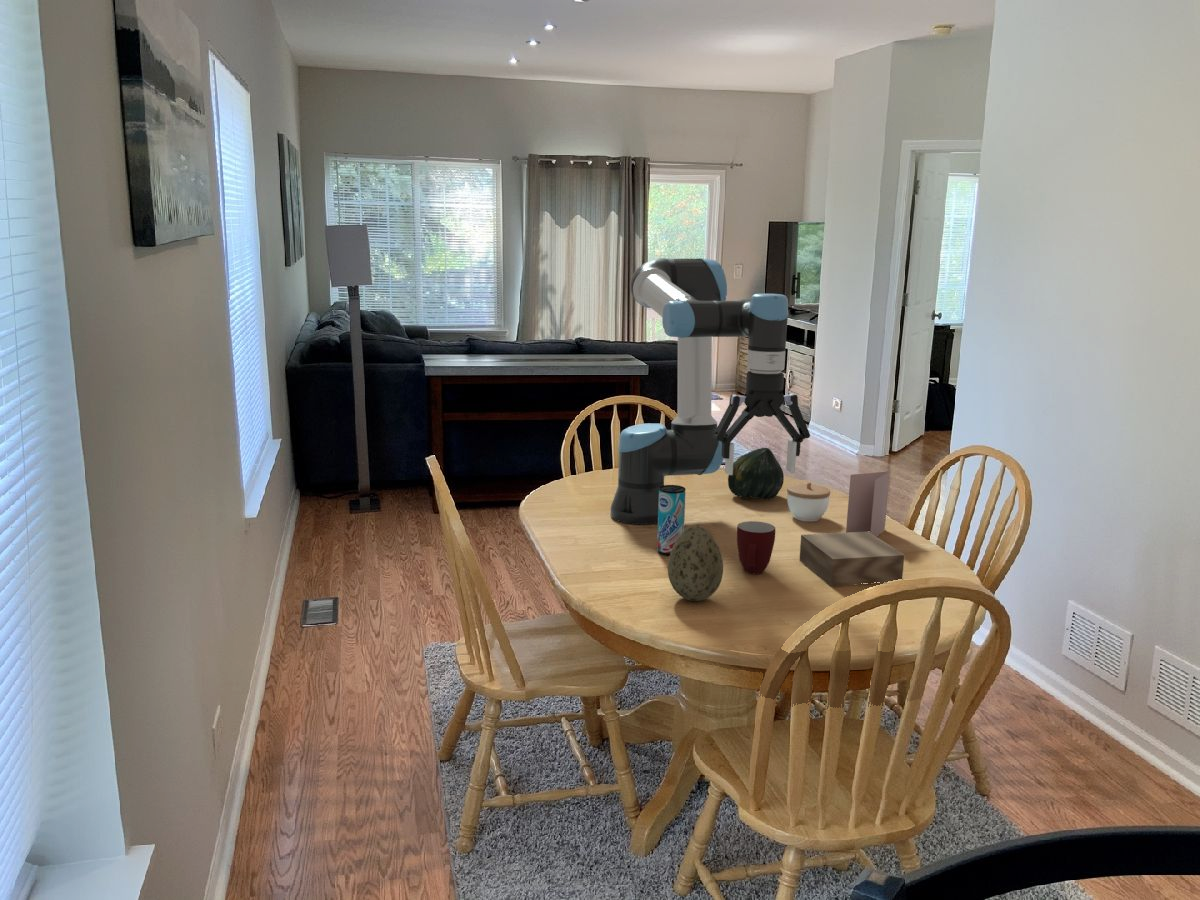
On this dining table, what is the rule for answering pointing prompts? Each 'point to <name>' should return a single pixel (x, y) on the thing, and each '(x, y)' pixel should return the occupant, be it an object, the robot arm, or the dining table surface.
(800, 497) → the lidded jar
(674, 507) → the beverage can
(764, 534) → the mug
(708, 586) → the decorative egg
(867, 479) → the greeting card
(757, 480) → the squash
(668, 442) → the robot arm
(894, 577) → the walnut block
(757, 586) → the dining table surface
